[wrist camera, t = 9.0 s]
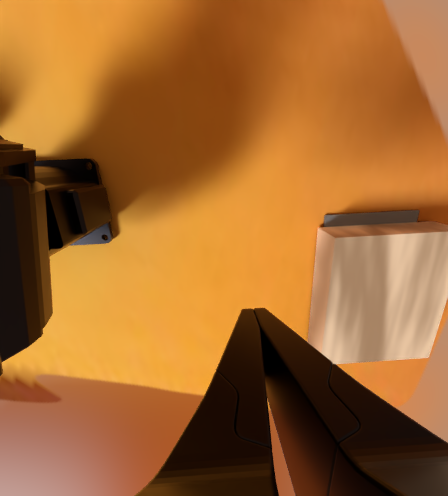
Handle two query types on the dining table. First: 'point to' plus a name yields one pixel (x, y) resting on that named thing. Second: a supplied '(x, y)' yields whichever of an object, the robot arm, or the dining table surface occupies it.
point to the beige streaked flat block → (378, 291)
